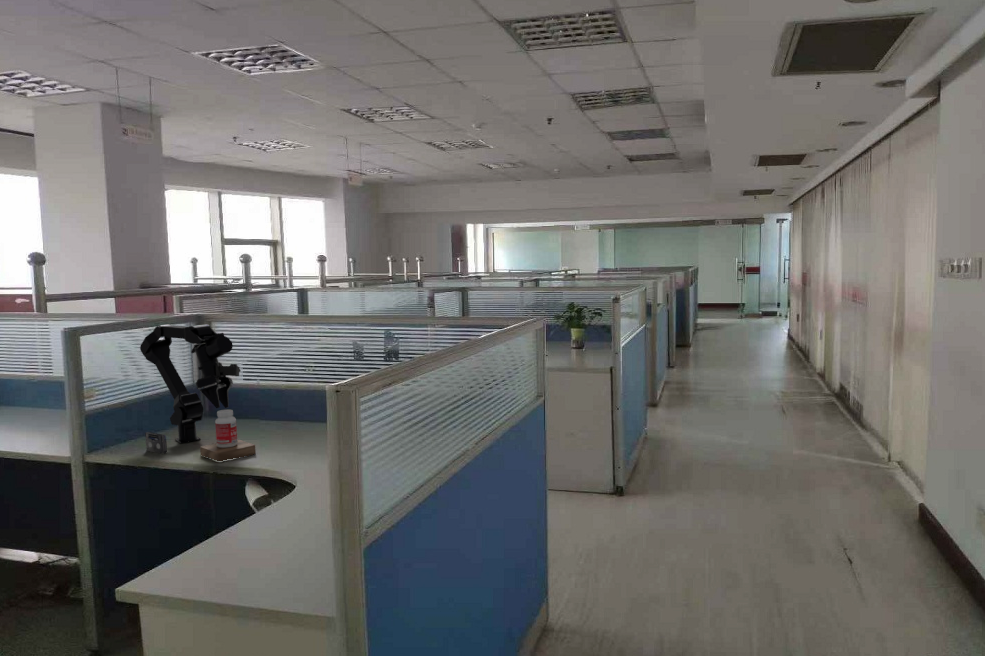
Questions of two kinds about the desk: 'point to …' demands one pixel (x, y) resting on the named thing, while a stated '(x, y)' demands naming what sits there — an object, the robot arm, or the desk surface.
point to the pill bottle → (226, 429)
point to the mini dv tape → (156, 442)
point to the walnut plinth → (228, 451)
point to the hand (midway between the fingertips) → (222, 407)
